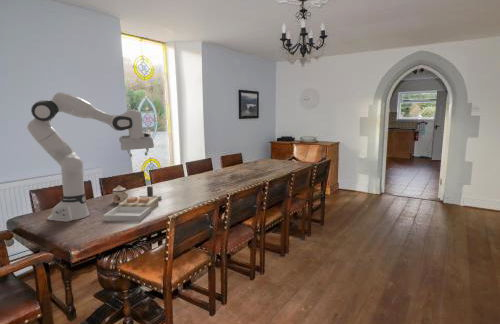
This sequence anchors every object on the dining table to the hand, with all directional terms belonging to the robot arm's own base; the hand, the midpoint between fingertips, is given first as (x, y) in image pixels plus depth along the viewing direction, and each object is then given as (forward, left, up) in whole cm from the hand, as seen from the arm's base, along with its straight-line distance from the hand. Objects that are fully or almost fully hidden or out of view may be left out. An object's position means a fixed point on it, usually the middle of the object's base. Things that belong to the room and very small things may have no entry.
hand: (138, 155), depth 193 cm
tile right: (+2, -1, -30) cm, 31 cm away
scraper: (-2, +20, -36) cm, 41 cm away
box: (-2, -17, -35) cm, 39 cm away
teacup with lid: (-21, +14, -36) cm, 43 cm away
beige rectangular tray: (-2, 0, -35) cm, 36 cm away
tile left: (-6, -1, -30) cm, 31 cm away
